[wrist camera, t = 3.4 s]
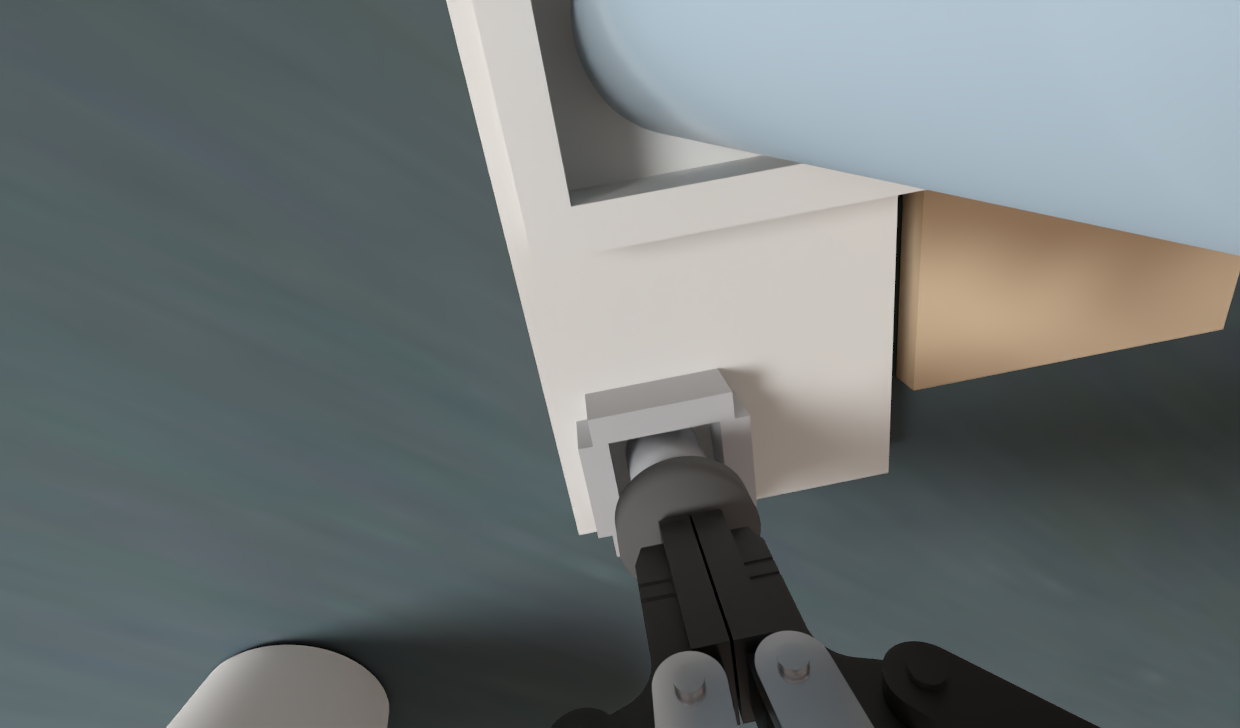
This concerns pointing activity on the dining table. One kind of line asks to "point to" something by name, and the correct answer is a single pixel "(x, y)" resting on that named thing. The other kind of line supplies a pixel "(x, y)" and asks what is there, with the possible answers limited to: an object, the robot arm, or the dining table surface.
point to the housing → (680, 277)
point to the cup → (287, 692)
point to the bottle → (953, 97)
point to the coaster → (1040, 289)
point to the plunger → (675, 490)
